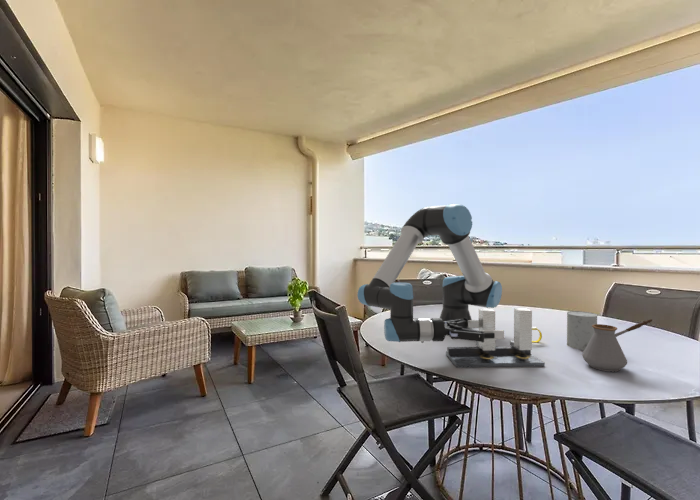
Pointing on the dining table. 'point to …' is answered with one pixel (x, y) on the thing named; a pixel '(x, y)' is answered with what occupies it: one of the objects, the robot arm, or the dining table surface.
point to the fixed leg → (522, 330)
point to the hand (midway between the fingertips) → (494, 329)
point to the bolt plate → (492, 357)
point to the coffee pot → (607, 348)
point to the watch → (540, 335)
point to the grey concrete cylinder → (580, 328)
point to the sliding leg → (486, 324)
